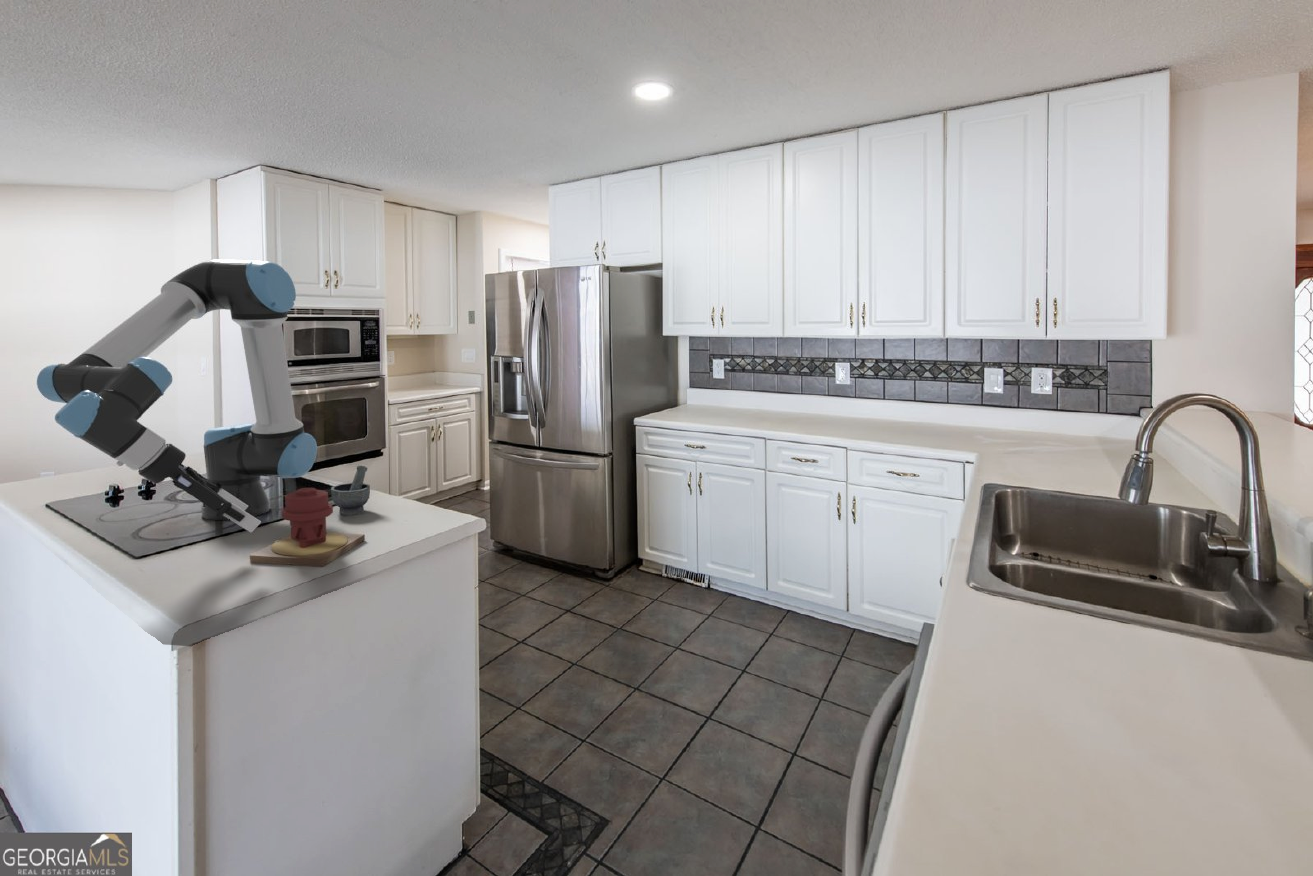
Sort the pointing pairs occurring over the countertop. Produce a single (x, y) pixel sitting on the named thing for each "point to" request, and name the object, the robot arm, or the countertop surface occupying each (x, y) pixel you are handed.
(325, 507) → the mechanical component
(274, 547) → the marked board
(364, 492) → the mortar and pestle
